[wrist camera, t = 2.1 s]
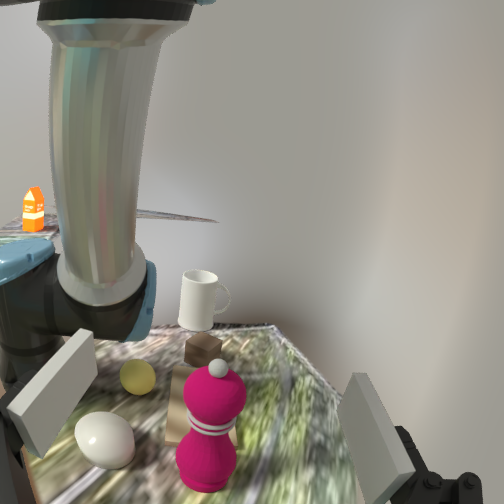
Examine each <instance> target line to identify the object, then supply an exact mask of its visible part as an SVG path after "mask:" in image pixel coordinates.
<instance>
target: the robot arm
mask: <svg viewBox="0 0 504 504" xmlns="http://www.w3.org/2000/svg"><path fill="white" fill-rule="evenodd" d="M34 1H40V5H39V11H38V17H37V25H38V26H39V27H40V28H41V29H42V30H43V31H44V32H45V33H46V34H47V35H48V36H49V37H50V39H51V41H52V43H53V47H52V56H51V68H50V84H49V142H50V159H51V171H52V181H53V190H54V198H55V205H56V211H57V218H58V224H59V230H60V235H61V240H62V245H63V251H62V253H61V254H57V253H55V247H54V244H53V242H52V241H51V240H47V239H43V238H32V239H24V240H19V241H14V242H11V243H8V244H5V245H2V246H0V378H1V381H2V384H3V386H4V389H5V391H6V393H5V394H4V395H3V396H2V398H1V399H0V504H36V501H35V498H34V495H33V491H32V488H31V485H30V481H29V478H28V474H27V470H26V466H25V462H24V457H23V453H22V451H21V447H22V446H23V444H24V445H25V447H26V449H27V450H28V452H30V453H31V454H33V455H35V456H37V457H39V458H41V459H43V457H44V456H45V454H46V453H47V451H48V449H49V448H50V446H51V444H52V443H53V441H54V440H55V438H56V436H57V435H58V433H59V432H60V430H61V428H62V427H63V425H64V424H65V422H66V421H67V419H68V418H69V416H70V415H71V413H72V411H73V410H74V408H75V407H76V405H77V404H78V402H79V401H80V399H81V398H82V396H83V395H84V393H85V392H86V390H87V389H88V387H89V386H90V385H91V383H92V382H93V380H94V379H95V377H96V376H97V374H98V372H97V364H96V357H95V348H94V339H99V340H112V341H118V342H121V343H124V342H127V341H142V340H144V339H145V338H146V337H147V336H148V334H149V331H150V328H151V324H152V318H153V308H154V303H155V296H156V267H155V265H154V263H152V262H151V261H147V260H146V259H145V256H144V253H143V251H142V250H141V248H140V247H139V246H138V245H137V243H136V242H135V228H136V211H137V197H138V185H139V174H140V164H141V156H142V148H143V140H144V132H145V126H146V119H147V113H148V107H149V101H150V96H151V90H152V85H153V80H154V75H155V71H156V66H157V62H158V57H159V53H160V48H161V44H162V43H163V41H164V40H165V39H166V38H167V37H168V36H170V35H171V34H173V33H174V32H176V31H177V30H179V29H181V28H182V27H184V26H185V25H187V24H188V22H189V18H190V15H191V12H192V9H193V6H194V4H199V5H201V6H202V5H208V4H212V3H214V2H215V1H216V0H0V6H7V5H15V4H21V3H29V2H34ZM62 336H70V337H71V338H70V339H69V340H68V341H67V342H66V343H65V341H64V340H63V338H62ZM337 414H338V417H339V420H340V423H341V426H342V429H343V433H344V436H345V439H346V442H347V445H348V448H349V451H350V454H351V458H352V461H353V464H354V467H355V470H356V474H357V477H358V480H359V483H360V487H361V490H362V493H363V497H364V500H365V503H366V504H385V503H386V502H387V501H388V500H389V499H390V501H391V504H483V497H482V485H481V480H480V479H479V477H478V476H477V475H475V474H474V473H471V472H465V473H464V474H462V475H461V476H460V477H459V478H458V479H457V480H452V479H451V480H450V479H446V480H445V479H442V477H441V476H440V475H439V474H436V473H435V472H430V471H428V469H427V467H426V465H425V463H424V461H423V459H422V457H421V455H420V453H419V451H418V449H416V446H415V444H414V442H413V440H412V438H411V436H410V434H409V432H407V431H406V430H405V429H404V428H403V427H402V426H394V425H393V423H392V422H391V419H390V418H389V416H388V414H387V412H386V410H385V408H384V406H383V404H382V402H381V400H380V398H379V396H378V394H377V392H376V390H375V389H374V387H373V385H372V383H371V381H370V379H369V377H368V375H367V373H353V374H352V377H351V379H350V381H349V384H348V386H347V389H346V391H345V393H344V395H343V398H342V400H341V402H340V404H339V406H338V409H337Z"/></svg>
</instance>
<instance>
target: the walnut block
mask: <svg viewBox="0 0 504 504" xmlns="http://www.w3.org/2000/svg"><path fill="white" fill-rule="evenodd" d="M222 341H223V340H220V339H218V338H216V337H213V336H211V335H209V334H206V333H204V332H202V331H200V332H198V333H197V334H195V335H194V336H192V337H191V338H189V339H188V340H186V344H185V358H184V362H186V363H188V364H190V365H192V366H194V367H196V368H201V367H204V366H209V364H210V362H211V361H212V360H214V359H220V354H221V347H222Z"/></svg>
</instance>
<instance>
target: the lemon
mask: <svg viewBox="0 0 504 504" xmlns="http://www.w3.org/2000/svg"><path fill="white" fill-rule="evenodd" d="M119 376H120V381H121V384H122V386H123V387H124V388H125V389H126V390H127V391H128V392H130V393H132V394H135V395H143V394H146V393H148V392H150V391H151V390H152V388H153V387H154V385H155V382H156V375H155V372H154V370H153V368H152V367H151V365H150V364H149V363H147V362H146V361H144V360H141V359H132V360H129V361H127V362H126V363H125V364H124V365H123V366H122V367H121V370H120V375H119Z"/></svg>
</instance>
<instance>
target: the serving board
mask: <svg viewBox="0 0 504 504" xmlns="http://www.w3.org/2000/svg"><path fill="white" fill-rule="evenodd" d="M197 369H199V368H195V367H186V366H177V365H173V372H172V379H171V388H170V396H169V405H168V414H167V424H166V435H165V446H173V447H178V445H179V443H180V441H181V440H182V438H183V437H184V436H185V435H186V434H188V433H189V432H190V429H191V425H190V424H189V423H188V420H187V406H186V405H185V402H184V399H183V389H184V384H185V382H186V380H187V378H188V377H189V375H190V374H191V373H193V372H194V371H195V370H197ZM229 437H230V439H231V441H232V443H233V445H234V448H235V450H237V447H238V443H237V436H236V429H235V426H234V427H233V429H232V430H231V431H229Z"/></svg>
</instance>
